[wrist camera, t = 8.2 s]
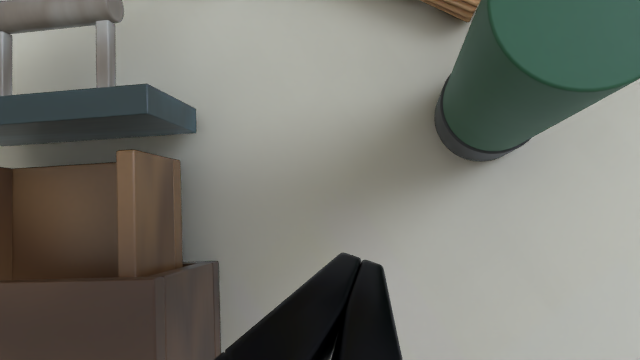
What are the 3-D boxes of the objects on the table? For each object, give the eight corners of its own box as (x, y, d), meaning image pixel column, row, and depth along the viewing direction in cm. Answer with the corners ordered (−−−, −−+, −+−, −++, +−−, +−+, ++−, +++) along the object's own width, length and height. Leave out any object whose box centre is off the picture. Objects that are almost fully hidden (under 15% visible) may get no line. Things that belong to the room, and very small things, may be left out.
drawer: (3, 33, 26) (-85, -7, 21) (193, 13, 24) (145, -34, 20) (2, 372, 25) (-91, 411, 20) (202, 374, 23) (153, 415, 18)
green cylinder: (530, 158, 22) (708, 88, 10) (437, 163, 23) (488, 104, 10) (523, 69, 23) (688, -114, 10) (432, 76, 23) (476, -88, 11)
